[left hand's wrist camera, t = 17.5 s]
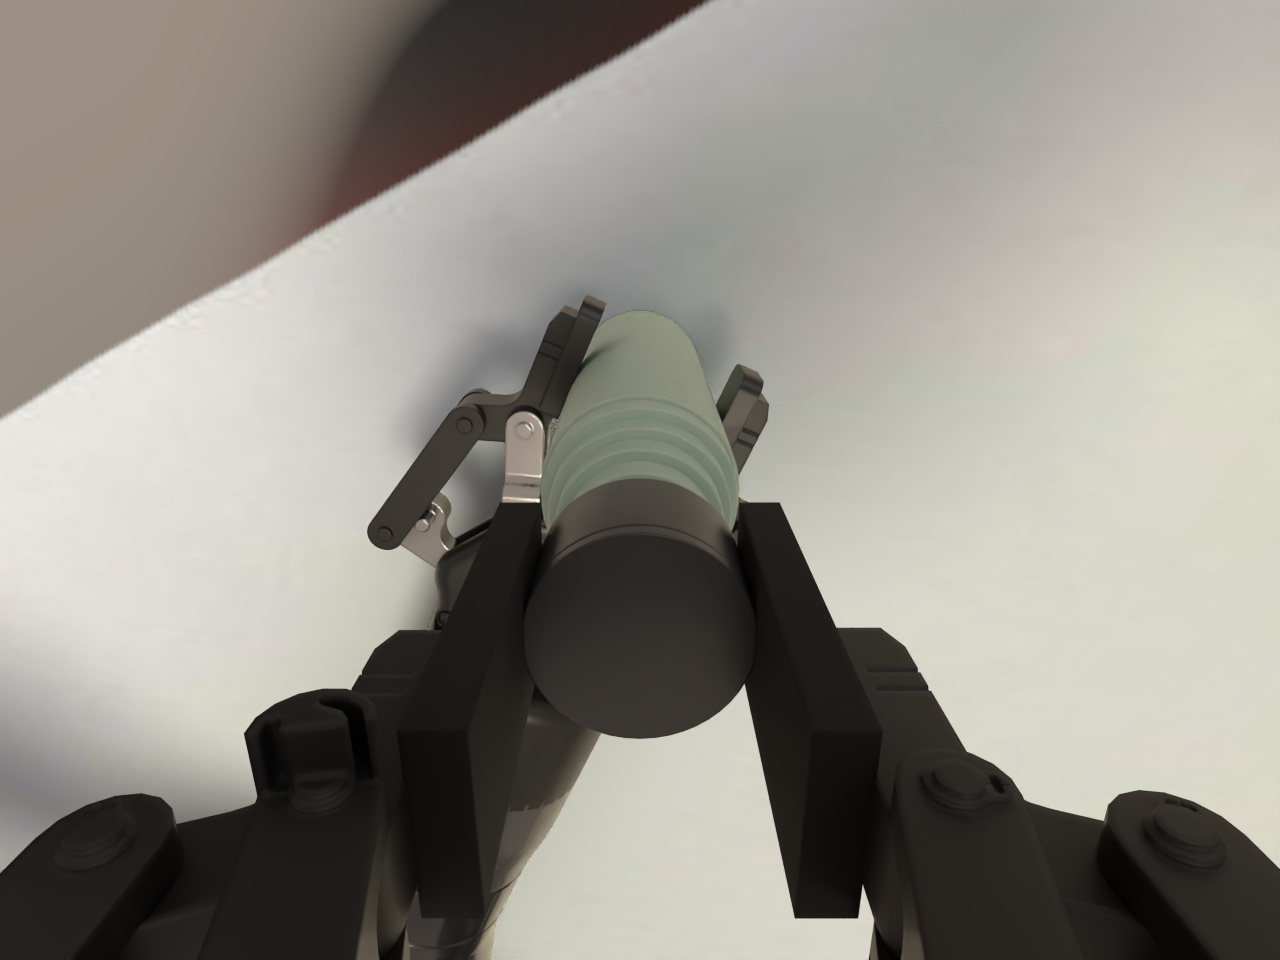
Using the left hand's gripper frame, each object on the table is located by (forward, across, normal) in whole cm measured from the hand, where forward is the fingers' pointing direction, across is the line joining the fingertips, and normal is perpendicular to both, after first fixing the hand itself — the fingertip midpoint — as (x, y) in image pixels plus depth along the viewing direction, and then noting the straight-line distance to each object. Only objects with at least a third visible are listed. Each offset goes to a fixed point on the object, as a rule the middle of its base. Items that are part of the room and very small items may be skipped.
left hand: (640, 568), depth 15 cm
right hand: (+11, -1, -2) cm, 12 cm away
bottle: (+18, 0, 0) cm, 18 cm away
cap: (-2, 0, 0) cm, 2 cm away
